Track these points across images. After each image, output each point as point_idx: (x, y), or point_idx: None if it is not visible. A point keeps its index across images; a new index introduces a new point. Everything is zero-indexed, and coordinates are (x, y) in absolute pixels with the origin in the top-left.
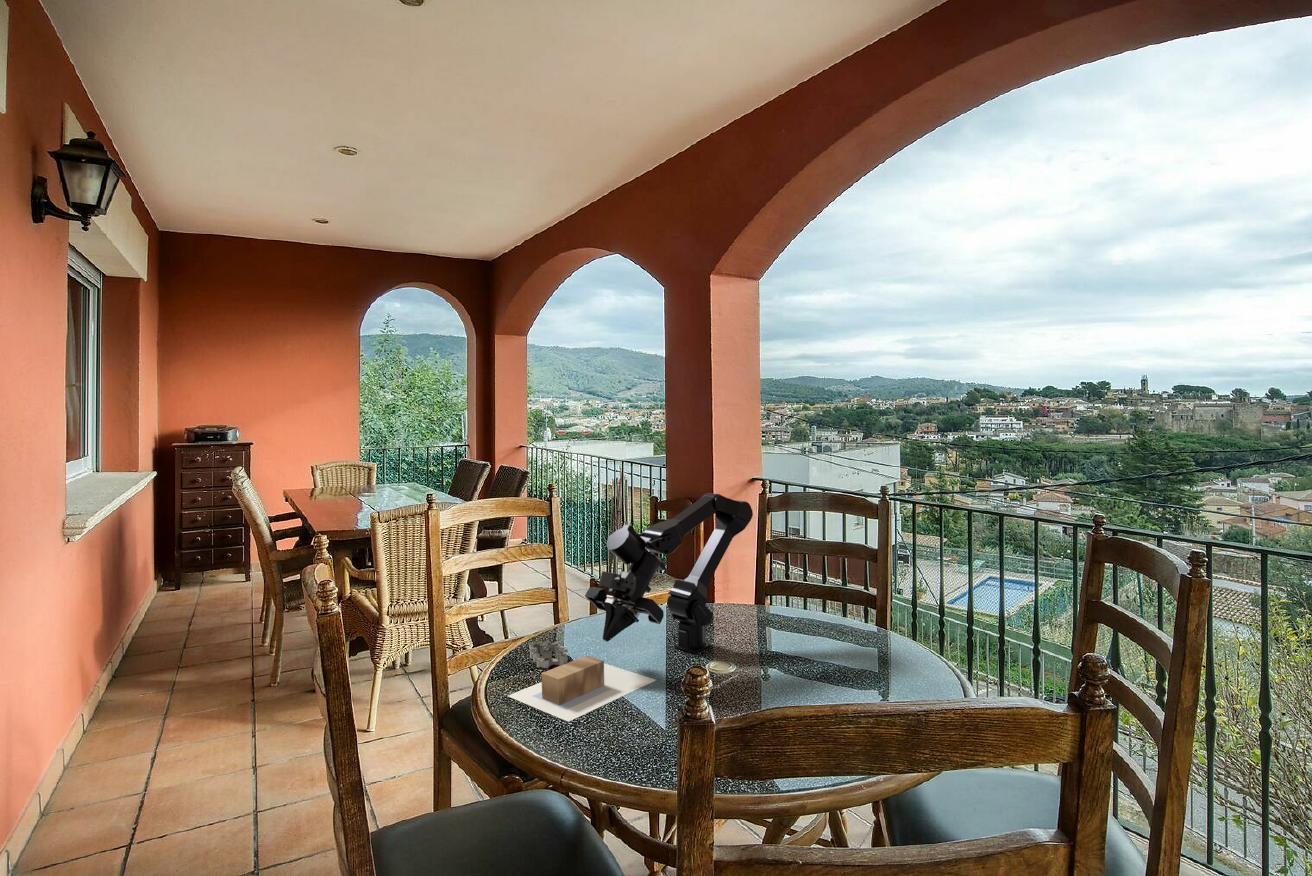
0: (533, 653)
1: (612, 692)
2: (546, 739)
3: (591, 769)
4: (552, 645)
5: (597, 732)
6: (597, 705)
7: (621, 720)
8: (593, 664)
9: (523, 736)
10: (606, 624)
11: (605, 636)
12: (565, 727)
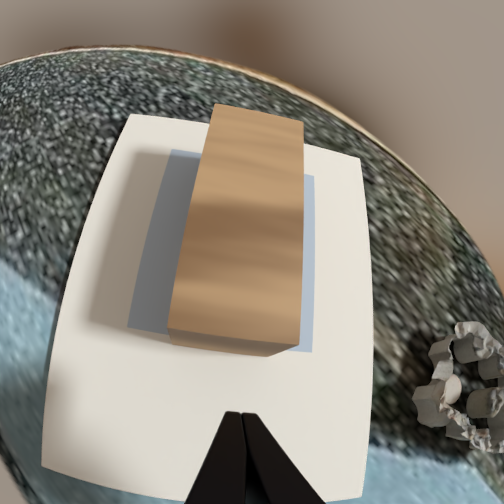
0: (495, 346)
1: (107, 303)
2: (141, 73)
3: (35, 62)
4: (502, 439)
5: (56, 124)
6: (103, 202)
7: (23, 184)
8: (184, 261)
9: (189, 67)
10: (292, 495)
11: (234, 422)
12: (131, 109)
